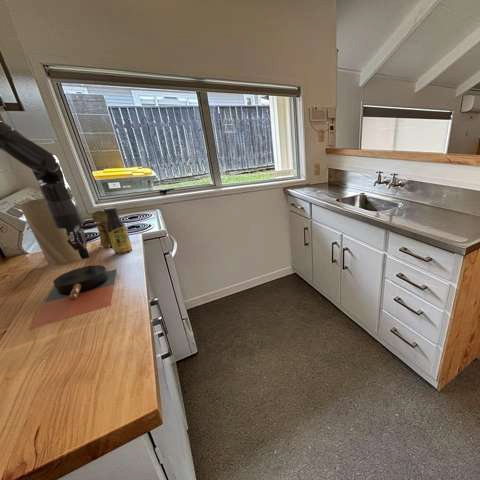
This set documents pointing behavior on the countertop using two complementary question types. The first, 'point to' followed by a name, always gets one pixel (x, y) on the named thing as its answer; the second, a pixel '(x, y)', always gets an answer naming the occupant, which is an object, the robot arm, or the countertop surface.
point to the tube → (48, 233)
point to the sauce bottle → (117, 232)
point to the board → (75, 303)
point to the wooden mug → (102, 228)
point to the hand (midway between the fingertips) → (86, 257)
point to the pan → (80, 280)
